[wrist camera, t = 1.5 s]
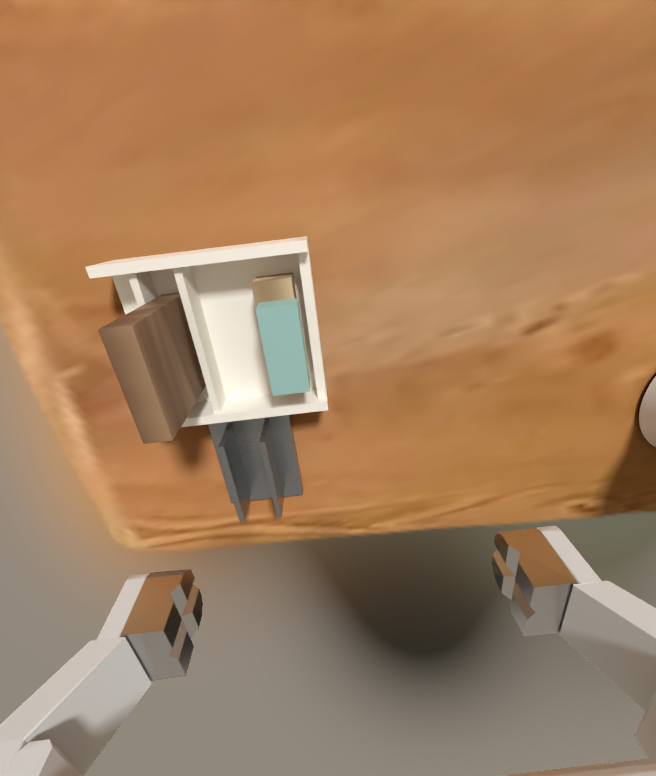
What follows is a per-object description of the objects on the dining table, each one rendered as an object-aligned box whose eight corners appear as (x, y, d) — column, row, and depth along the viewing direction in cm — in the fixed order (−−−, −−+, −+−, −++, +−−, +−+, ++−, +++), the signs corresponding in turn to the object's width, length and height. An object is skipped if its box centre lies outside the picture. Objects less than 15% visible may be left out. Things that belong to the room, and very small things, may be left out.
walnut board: (185, 291, 30) (132, 325, 21) (210, 379, 34) (172, 440, 25) (161, 294, 30) (97, 329, 21) (188, 381, 34) (143, 443, 25)
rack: (307, 236, 30) (306, 239, 26) (326, 390, 36) (328, 410, 32) (112, 260, 30) (85, 267, 26) (165, 409, 36) (148, 431, 32)
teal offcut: (298, 298, 28) (297, 304, 26) (310, 381, 31) (310, 391, 29) (258, 302, 28) (255, 309, 26) (274, 385, 31) (272, 395, 29)
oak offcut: (292, 272, 30) (290, 278, 27) (307, 372, 34) (307, 386, 31) (256, 276, 30) (251, 283, 27) (275, 376, 34) (272, 390, 31)
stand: (287, 403, 36) (284, 429, 32) (303, 489, 41) (302, 522, 37) (207, 413, 36) (193, 440, 32) (232, 497, 41) (223, 531, 37)
